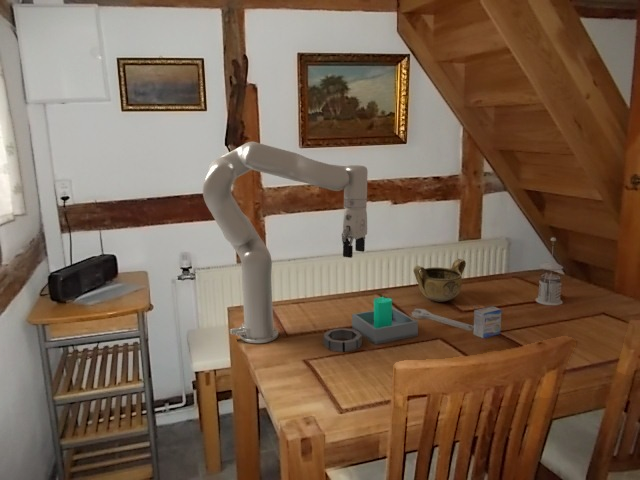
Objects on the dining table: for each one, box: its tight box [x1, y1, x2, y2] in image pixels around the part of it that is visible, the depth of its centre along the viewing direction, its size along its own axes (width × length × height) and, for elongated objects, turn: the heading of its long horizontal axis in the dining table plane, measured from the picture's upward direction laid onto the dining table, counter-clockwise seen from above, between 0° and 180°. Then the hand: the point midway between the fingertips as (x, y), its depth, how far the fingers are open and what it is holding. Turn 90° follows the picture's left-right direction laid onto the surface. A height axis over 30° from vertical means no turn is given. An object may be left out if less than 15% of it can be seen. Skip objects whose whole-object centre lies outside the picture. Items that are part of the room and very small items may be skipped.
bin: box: [351, 306, 419, 345], centre depth 188 cm, size 16×16×5 cm
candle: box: [373, 296, 393, 328], centre depth 187 cm, size 6×6×12 cm
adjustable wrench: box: [411, 308, 474, 332], centre depth 196 cm, size 25×6×2 cm, turn 41°
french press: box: [534, 237, 564, 306], centre depth 212 cm, size 10×12×25 cm
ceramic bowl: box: [413, 258, 467, 303], centre depth 218 cm, size 22×17×15 cm
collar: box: [322, 327, 363, 353], centre depth 179 cm, size 12×12×3 cm
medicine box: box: [473, 305, 502, 340], centre depth 184 cm, size 8×4×9 cm, turn 117°
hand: (353, 254), depth 188 cm, fingers open, 9 cm apart
